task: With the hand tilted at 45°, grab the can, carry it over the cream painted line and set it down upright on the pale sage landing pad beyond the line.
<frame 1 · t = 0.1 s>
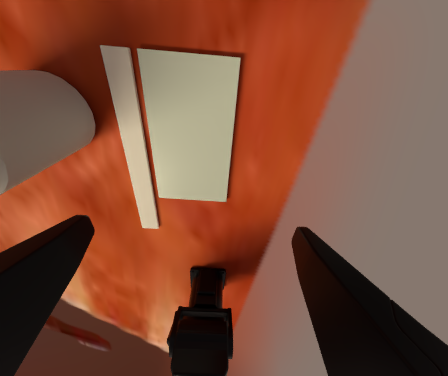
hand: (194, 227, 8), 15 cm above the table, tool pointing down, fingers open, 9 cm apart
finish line: (138, 160, 22), on the table
can: (63, 111, 20), on the table
landing pad: (192, 140, 21), on the table
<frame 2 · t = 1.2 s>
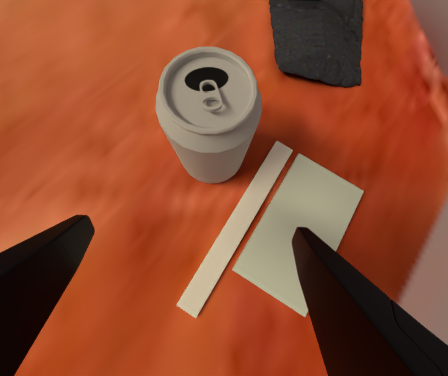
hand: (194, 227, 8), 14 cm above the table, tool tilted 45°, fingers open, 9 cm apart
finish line: (239, 220, 22), on the table
dark slate chunk: (310, 27, 29), on the table
can: (212, 156, 23), on the table
landing pad: (299, 228, 22), on the table
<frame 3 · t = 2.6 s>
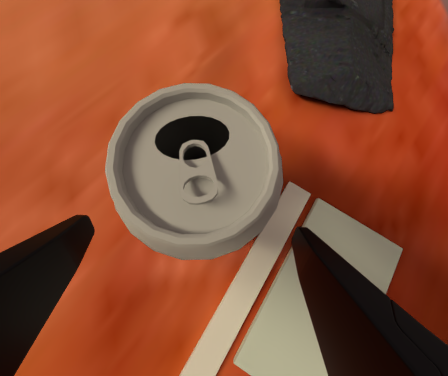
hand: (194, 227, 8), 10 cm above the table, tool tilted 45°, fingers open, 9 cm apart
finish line: (243, 289, 17), on the table
dark slate chunk: (329, 39, 24), on the table
can: (208, 201, 18), on the table
landing pad: (321, 299, 17), on the table
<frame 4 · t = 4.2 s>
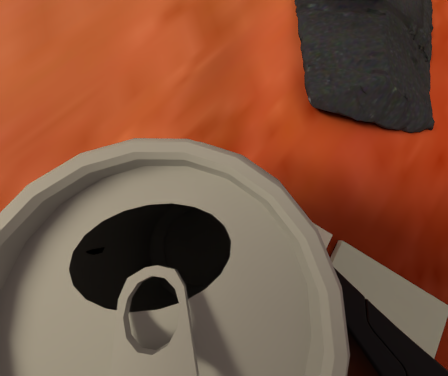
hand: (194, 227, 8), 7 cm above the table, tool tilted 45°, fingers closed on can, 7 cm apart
dark slate chunk: (353, 39, 20), on the table
can: (203, 244, 15), on the table, touching gripper
landing pad: (348, 375, 13), on the table
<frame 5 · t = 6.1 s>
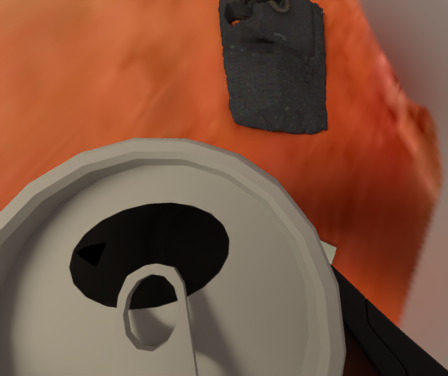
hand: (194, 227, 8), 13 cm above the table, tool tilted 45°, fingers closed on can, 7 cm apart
dark slate chunk: (270, 65, 26), on the table
can: (202, 243, 15), point 6 cm above the table, touching gripper
when the fingers open (8 cm above the table, at t = 8.3 s): can drops 1 cm, resting on landing pad.
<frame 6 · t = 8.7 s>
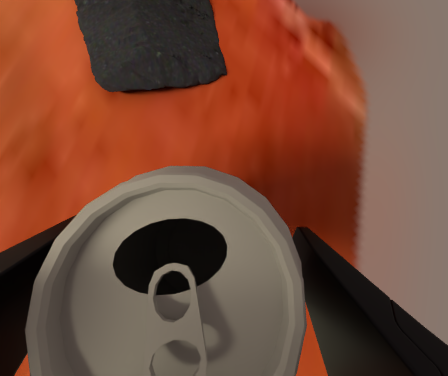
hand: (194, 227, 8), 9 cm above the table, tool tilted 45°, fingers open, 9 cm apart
dark slate chunk: (147, 18, 22), on the table
can: (203, 244, 16), resting on landing pad
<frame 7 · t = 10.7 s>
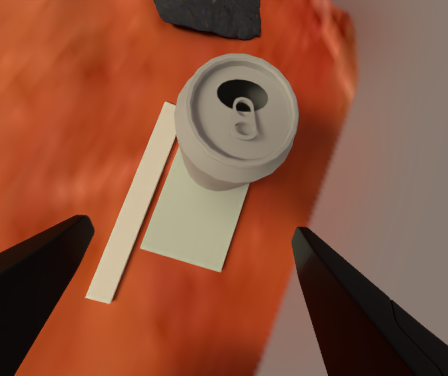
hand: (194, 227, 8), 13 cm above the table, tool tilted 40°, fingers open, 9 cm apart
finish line: (140, 196, 20), on the table
can: (217, 159, 21), resting on landing pad
landing pad: (205, 190, 21), on the table
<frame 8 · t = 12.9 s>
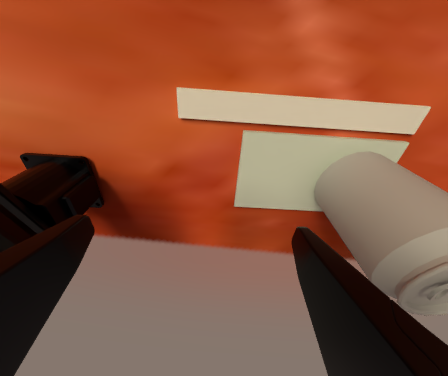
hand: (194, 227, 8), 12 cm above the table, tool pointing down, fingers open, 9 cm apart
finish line: (301, 111, 17), on the table
can: (345, 179, 20), resting on landing pad
landing pad: (310, 175, 20), on the table
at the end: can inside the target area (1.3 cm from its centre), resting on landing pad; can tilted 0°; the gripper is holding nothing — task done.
